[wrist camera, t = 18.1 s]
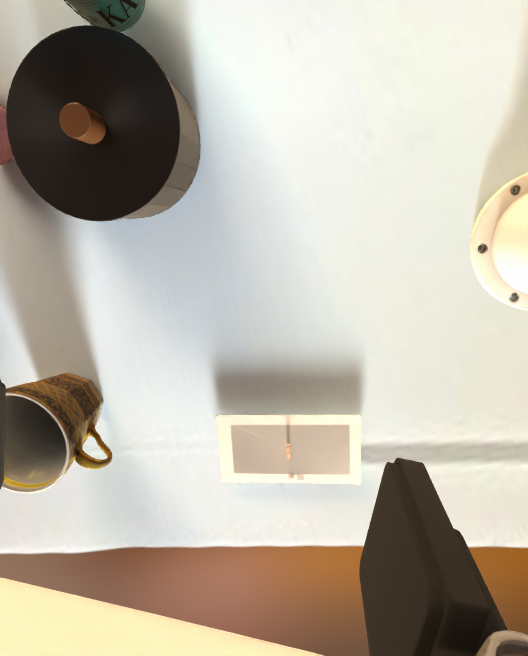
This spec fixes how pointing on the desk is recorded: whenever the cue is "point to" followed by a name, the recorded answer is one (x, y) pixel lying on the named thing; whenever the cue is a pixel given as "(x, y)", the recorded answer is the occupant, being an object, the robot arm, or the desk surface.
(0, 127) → the pink cartoon race car
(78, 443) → the ceramic cup
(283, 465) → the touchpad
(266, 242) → the desk surface
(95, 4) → the beverage bottle
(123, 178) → the lid
